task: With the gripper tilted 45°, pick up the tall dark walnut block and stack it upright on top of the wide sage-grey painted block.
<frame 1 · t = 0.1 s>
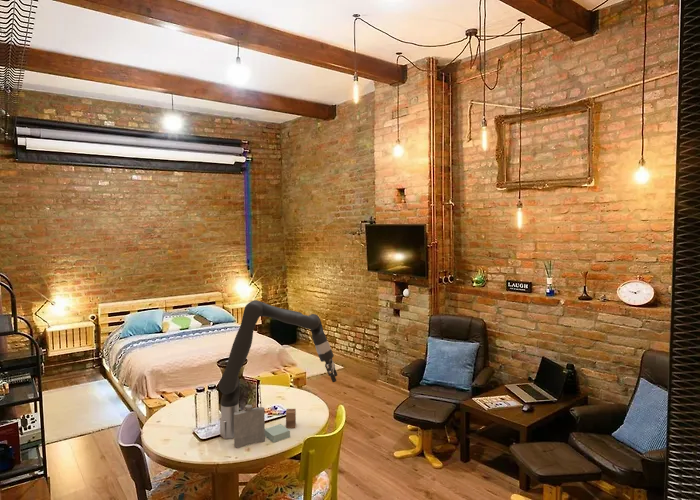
hand: (335, 378, 245), 31 cm above the table, tool tilted 20°, fingers open, 8 cm apart
plinth block: (277, 437, 247), on the table
walnut block: (290, 426, 259), on the table
hip flask: (249, 443, 239), on the table
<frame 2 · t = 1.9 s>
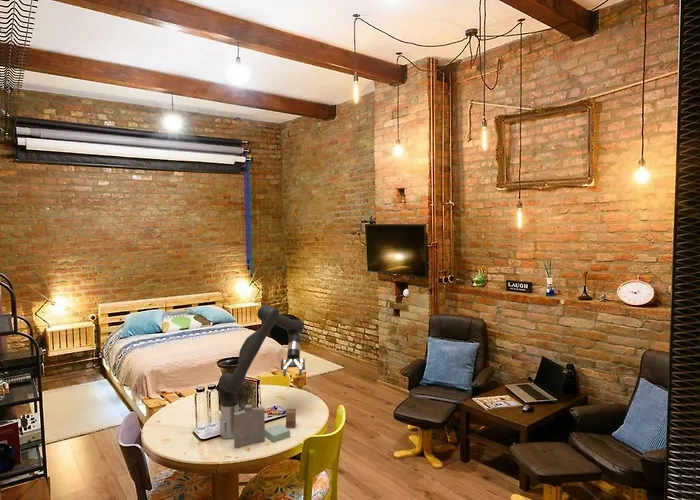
hand: (292, 376, 269), 25 cm above the table, tool tilted 45°, fingers open, 8 cm apart
nothing on the table moved.
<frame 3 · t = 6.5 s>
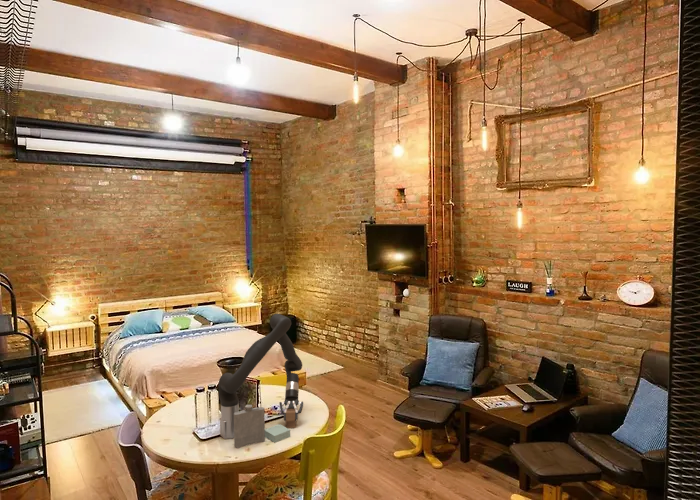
hand: (290, 420, 257), 4 cm above the table, tool tilted 45°, fingers closed on walnut block, 5 cm apart
walnut block: (290, 426, 259), on the table, touching gripper
everything else where it was.
when the fingers open (10 cm above the table, at t = 11.4 s): walnut block drops 2 cm, resting on plinth block.
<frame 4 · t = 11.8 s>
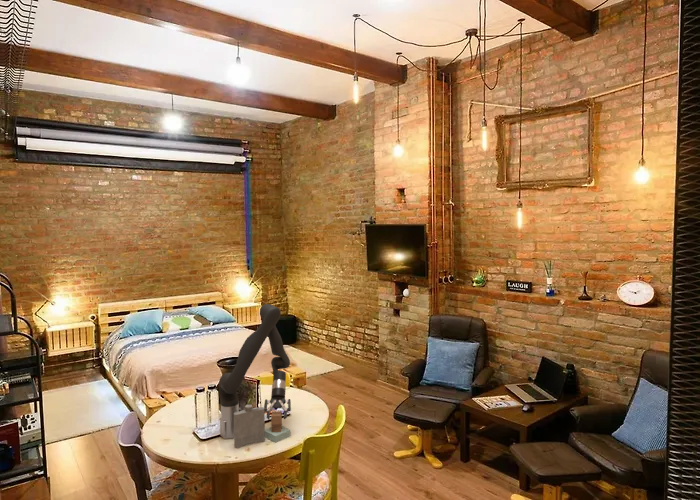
hand: (276, 418, 245), 10 cm above the table, tool tilted 45°, fingers open, 8 cm apart
plinth block: (277, 437, 247), on the table, touching walnut block
walnut block: (276, 430, 247), point 4 cm above the table, touching plinth block
everything else where it was.
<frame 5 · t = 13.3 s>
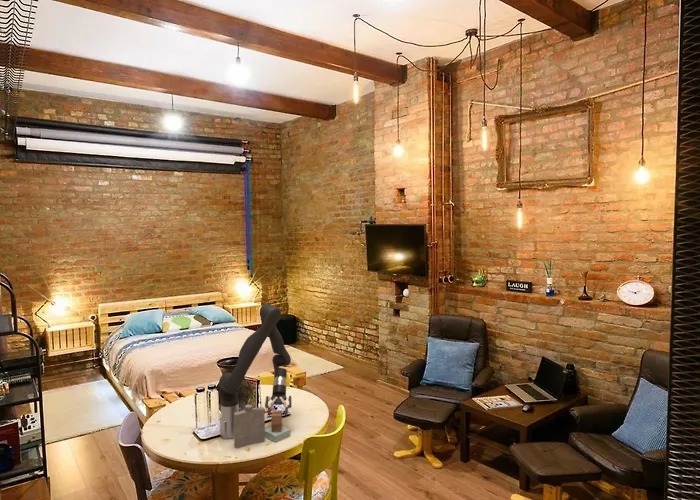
hand: (277, 415, 249), 10 cm above the table, tool tilted 45°, fingers open, 8 cm apart
plinth block: (277, 437, 247), on the table
walnut block: (277, 429, 247), point 4 cm above the table
everything else where it was.
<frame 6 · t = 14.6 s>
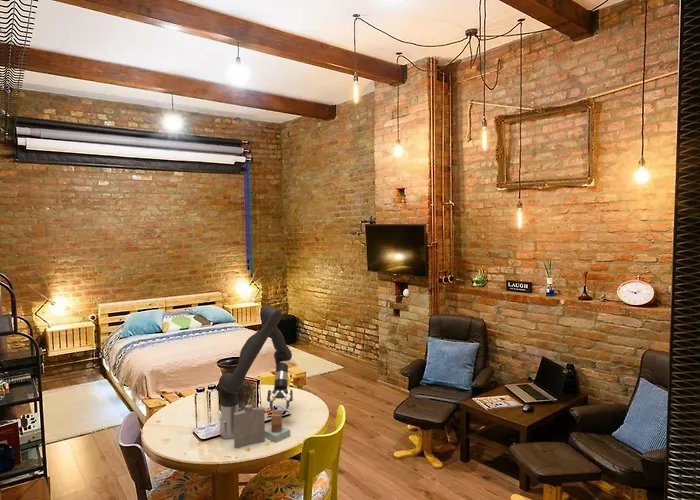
hand: (279, 408, 257), 11 cm above the table, tool tilted 45°, fingers open, 8 cm apart
plinth block: (277, 437, 247), on the table, touching walnut block
walnut block: (276, 430, 246), point 4 cm above the table, touching plinth block
everything else where it was.
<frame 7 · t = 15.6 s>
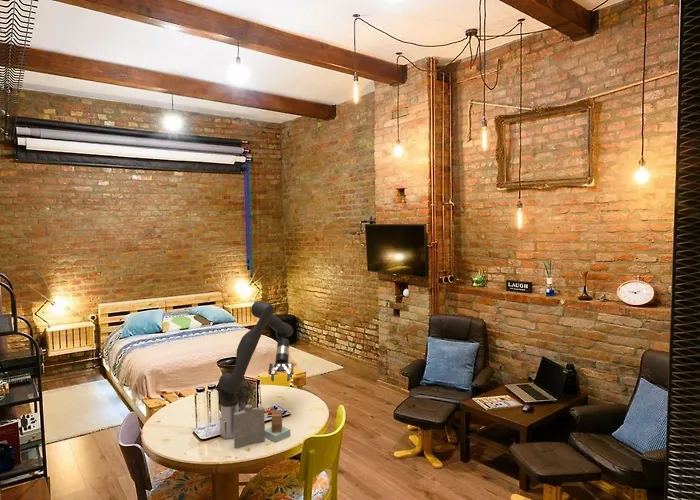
hand: (280, 380, 264), 24 cm above the table, tool tilted 45°, fingers open, 8 cm apart
nothing on the table moved.
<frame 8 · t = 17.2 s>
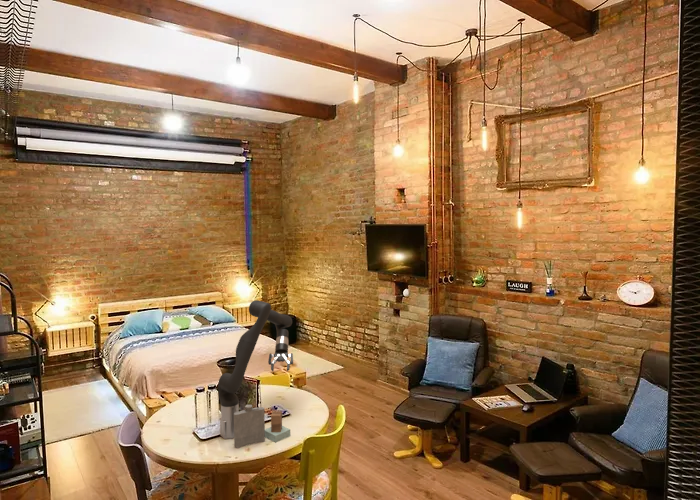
hand: (280, 370, 267), 29 cm above the table, tool tilted 45°, fingers open, 8 cm apart
plinth block: (277, 436, 247), on the table
walnut block: (276, 429, 247), point 4 cm above the table
everything else where it was.
at the end: walnut block 0.4 cm off-centre on the plinth block, point 4.0 cm above the plinth block's base; walnut block tilted 1°; walnut block point 3.5 cm above the table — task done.
